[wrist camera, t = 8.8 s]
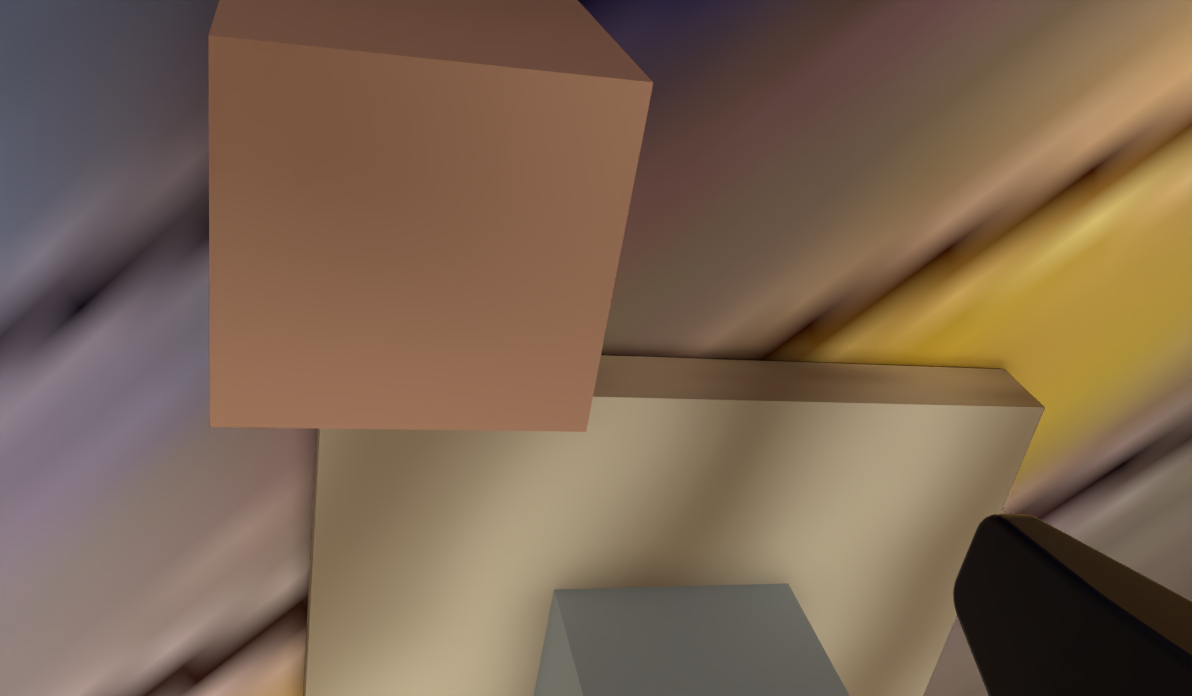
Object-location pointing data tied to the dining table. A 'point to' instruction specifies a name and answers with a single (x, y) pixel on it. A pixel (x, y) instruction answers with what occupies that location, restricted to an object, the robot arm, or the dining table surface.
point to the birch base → (662, 517)
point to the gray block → (683, 643)
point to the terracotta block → (415, 211)
